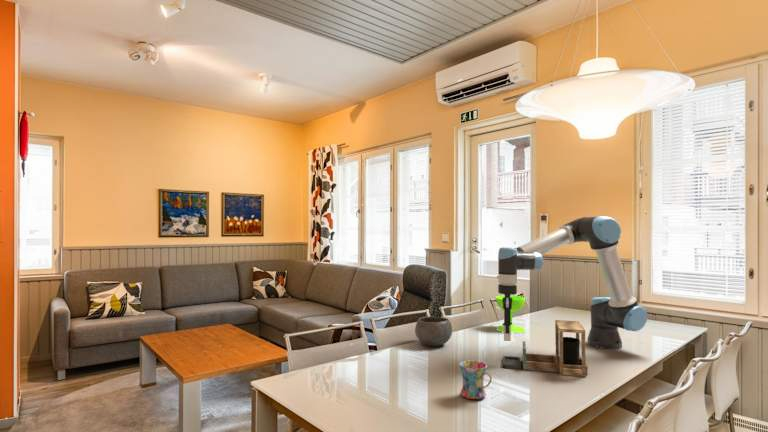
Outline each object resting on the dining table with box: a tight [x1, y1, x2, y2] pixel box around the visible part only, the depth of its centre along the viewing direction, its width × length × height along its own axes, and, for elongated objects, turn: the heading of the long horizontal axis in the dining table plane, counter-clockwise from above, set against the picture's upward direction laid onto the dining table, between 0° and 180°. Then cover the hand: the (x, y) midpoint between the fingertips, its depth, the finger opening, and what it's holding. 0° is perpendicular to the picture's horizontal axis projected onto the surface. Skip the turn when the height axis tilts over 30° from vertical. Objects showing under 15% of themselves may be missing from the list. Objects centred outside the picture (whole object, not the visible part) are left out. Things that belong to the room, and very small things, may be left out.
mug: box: [458, 360, 493, 400], centre depth 144 cm, size 12×9×11 cm
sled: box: [522, 341, 589, 376], centre depth 175 cm, size 24×12×8 cm, turn 74°
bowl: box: [414, 316, 453, 347], centre depth 209 cm, size 18×18×13 cm
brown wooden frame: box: [554, 319, 587, 378], centre depth 173 cm, size 9×16×18 cm, turn 164°
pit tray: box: [502, 355, 522, 370], centre depth 179 cm, size 7×12×2 cm, turn 163°
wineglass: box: [495, 294, 526, 333], centre depth 239 cm, size 16×16×18 cm
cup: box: [563, 336, 581, 365], centre depth 173 cm, size 8×8×12 cm
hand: (507, 340), depth 180 cm, fingers closed
